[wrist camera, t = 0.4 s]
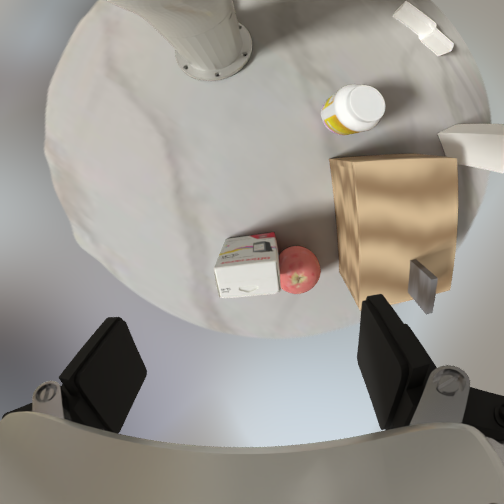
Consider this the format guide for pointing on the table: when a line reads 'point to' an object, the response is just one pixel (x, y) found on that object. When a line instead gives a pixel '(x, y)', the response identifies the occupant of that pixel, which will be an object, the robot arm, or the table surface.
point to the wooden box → (352, 214)
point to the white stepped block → (423, 28)
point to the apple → (298, 269)
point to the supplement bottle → (353, 109)
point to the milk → (475, 145)
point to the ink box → (248, 266)
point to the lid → (406, 228)
